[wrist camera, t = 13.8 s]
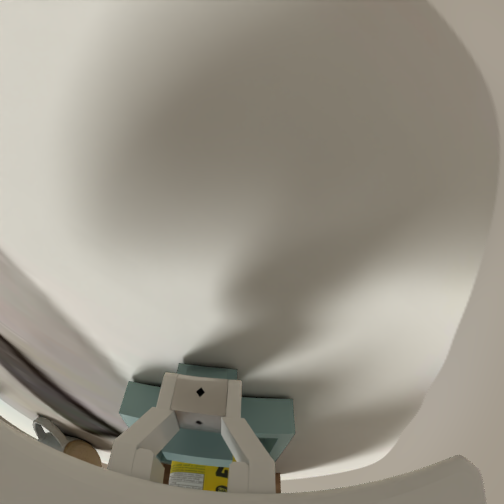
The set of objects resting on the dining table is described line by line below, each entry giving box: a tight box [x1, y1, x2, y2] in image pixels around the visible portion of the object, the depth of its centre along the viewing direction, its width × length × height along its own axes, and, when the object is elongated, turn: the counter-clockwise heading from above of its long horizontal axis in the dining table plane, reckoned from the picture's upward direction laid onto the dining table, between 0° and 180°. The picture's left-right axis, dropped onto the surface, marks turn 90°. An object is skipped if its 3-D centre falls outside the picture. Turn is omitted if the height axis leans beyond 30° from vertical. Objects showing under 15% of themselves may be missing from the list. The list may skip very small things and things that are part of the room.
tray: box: [119, 363, 295, 468], centre depth 15 cm, size 14×10×5 cm
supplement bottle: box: [169, 456, 237, 492], centre depth 14 cm, size 5×5×8 cm
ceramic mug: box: [33, 417, 102, 467], centre depth 23 cm, size 11×8×8 cm
